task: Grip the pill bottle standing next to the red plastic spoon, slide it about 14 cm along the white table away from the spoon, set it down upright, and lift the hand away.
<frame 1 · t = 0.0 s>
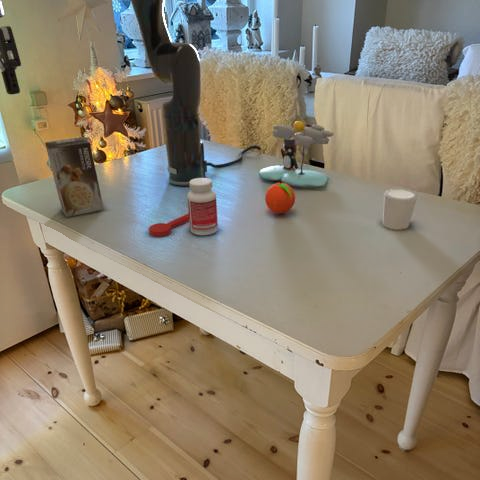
hand: (1, 91, 90), 29 cm above the table, tool pointing down, fingers open, 8 cm apart
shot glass: (395, 225, 109), on the table
pill bottle: (204, 231, 108), on the table
coffee box: (82, 210, 119), on the table
penguin figurine: (293, 181, 133), on the table
clementine: (280, 213, 115), on the table
spoon: (178, 224, 111), on the table
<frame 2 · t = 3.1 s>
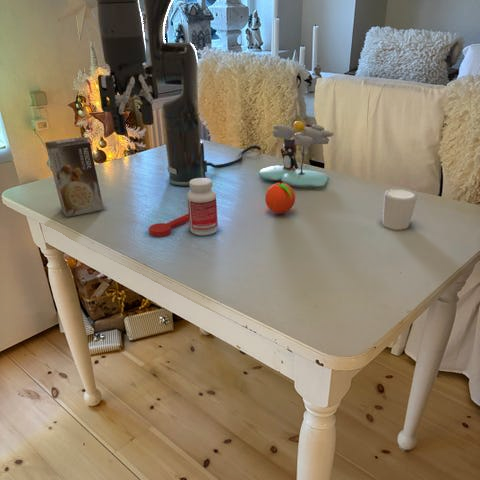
hand: (135, 129, 95), 22 cm above the table, tool pointing down, fingers open, 8 cm apart
nothing on the table moved.
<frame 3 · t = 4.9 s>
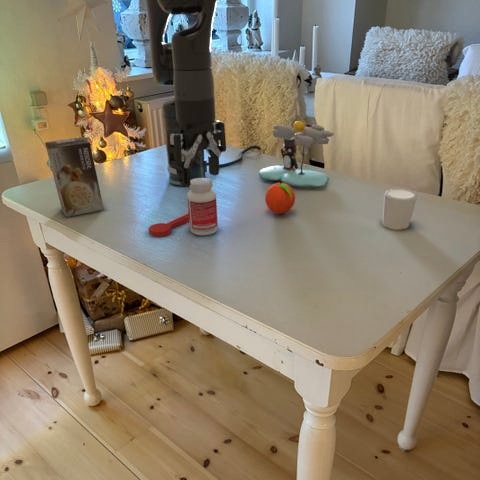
hand: (200, 179, 101), 11 cm above the table, tool pointing down, fingers open, 8 cm apart
nothing on the table moved.
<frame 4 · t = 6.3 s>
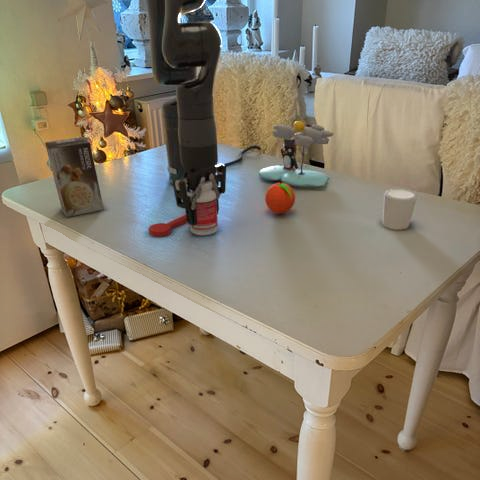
hand: (203, 219, 106), 3 cm above the table, tool pointing down, fingers closed on pill bottle, 6 cm apart
pill bottle: (204, 231, 108), on the table, touching gripper
everything else where it was.
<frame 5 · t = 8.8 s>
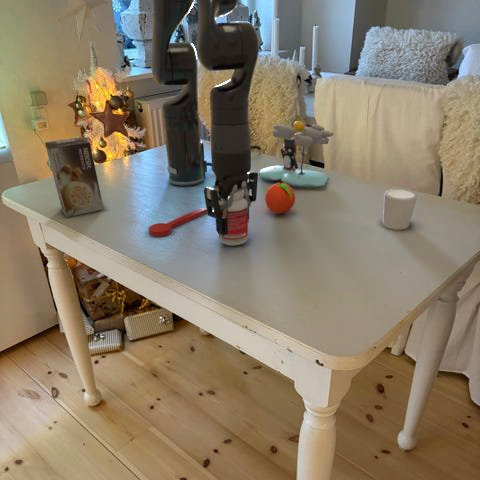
hand: (233, 228, 102), 3 cm above the table, tool pointing down, fingers closed on pill bottle, 6 cm apart
pill bottle: (233, 240, 103), on the table, touching gripper
everything else where it was.
when the fingers open (3 cm above the table, at t = 11.2 s): pill bottle stays where it is, on the table.
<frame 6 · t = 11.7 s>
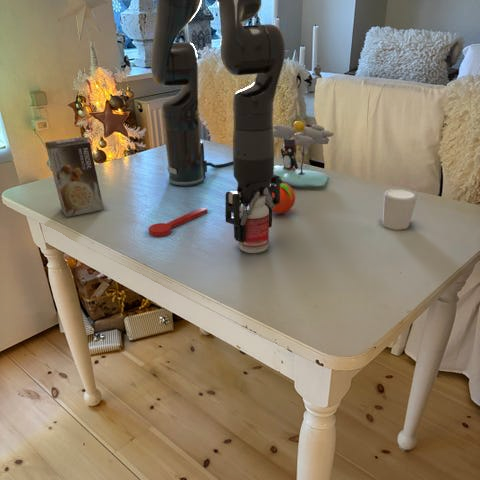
hand: (253, 233, 99), 3 cm above the table, tool pointing down, fingers open, 8 cm apart
pill bottle: (253, 248, 101), on the table
everything else where it was.
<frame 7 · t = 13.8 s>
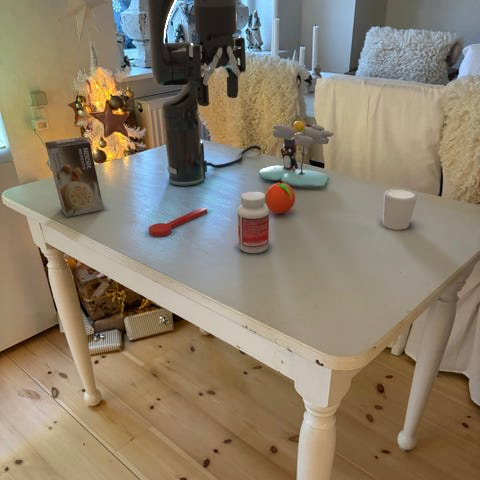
hand: (218, 101, 96), 26 cm above the table, tool pointing down, fingers open, 8 cm apart
nothing on the table moved.
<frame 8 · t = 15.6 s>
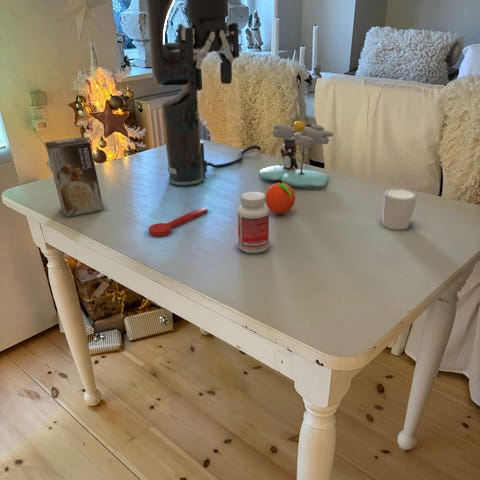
hand: (212, 86, 96), 28 cm above the table, tool pointing down, fingers open, 8 cm apart
nothing on the table moved.
at the end: pill bottle inside the target area (0.1 cm from its centre), on the table; pill bottle tilted 0°; spoon moved 0.0 cm from its start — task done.
